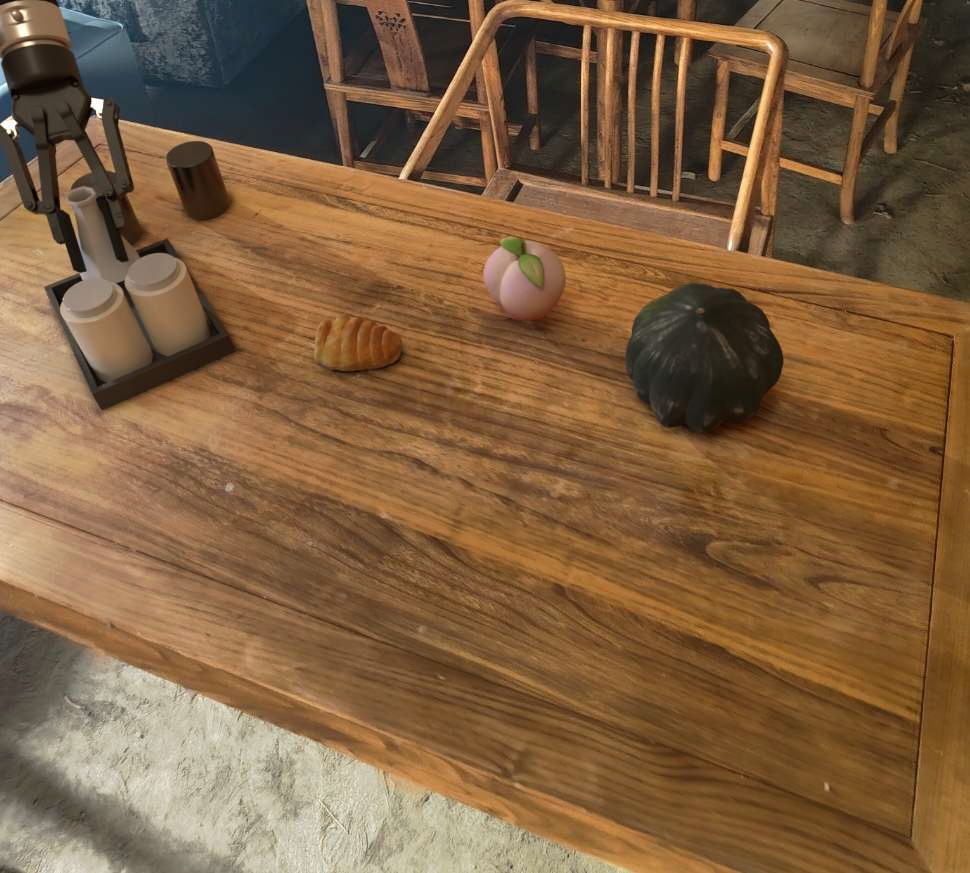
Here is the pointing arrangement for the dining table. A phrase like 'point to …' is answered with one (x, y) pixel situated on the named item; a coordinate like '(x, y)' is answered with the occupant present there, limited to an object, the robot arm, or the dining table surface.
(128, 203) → the dark brown cylinder
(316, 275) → the dining table surface
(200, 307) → the white shaker
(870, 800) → the dining table surface
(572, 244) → the dining table surface
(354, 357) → the pastry
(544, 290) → the decorative fruit
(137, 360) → the cylinder
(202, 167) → the dark brown cylinder
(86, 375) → the black tray
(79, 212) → the flask
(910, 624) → the dining table surface
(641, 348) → the squash
